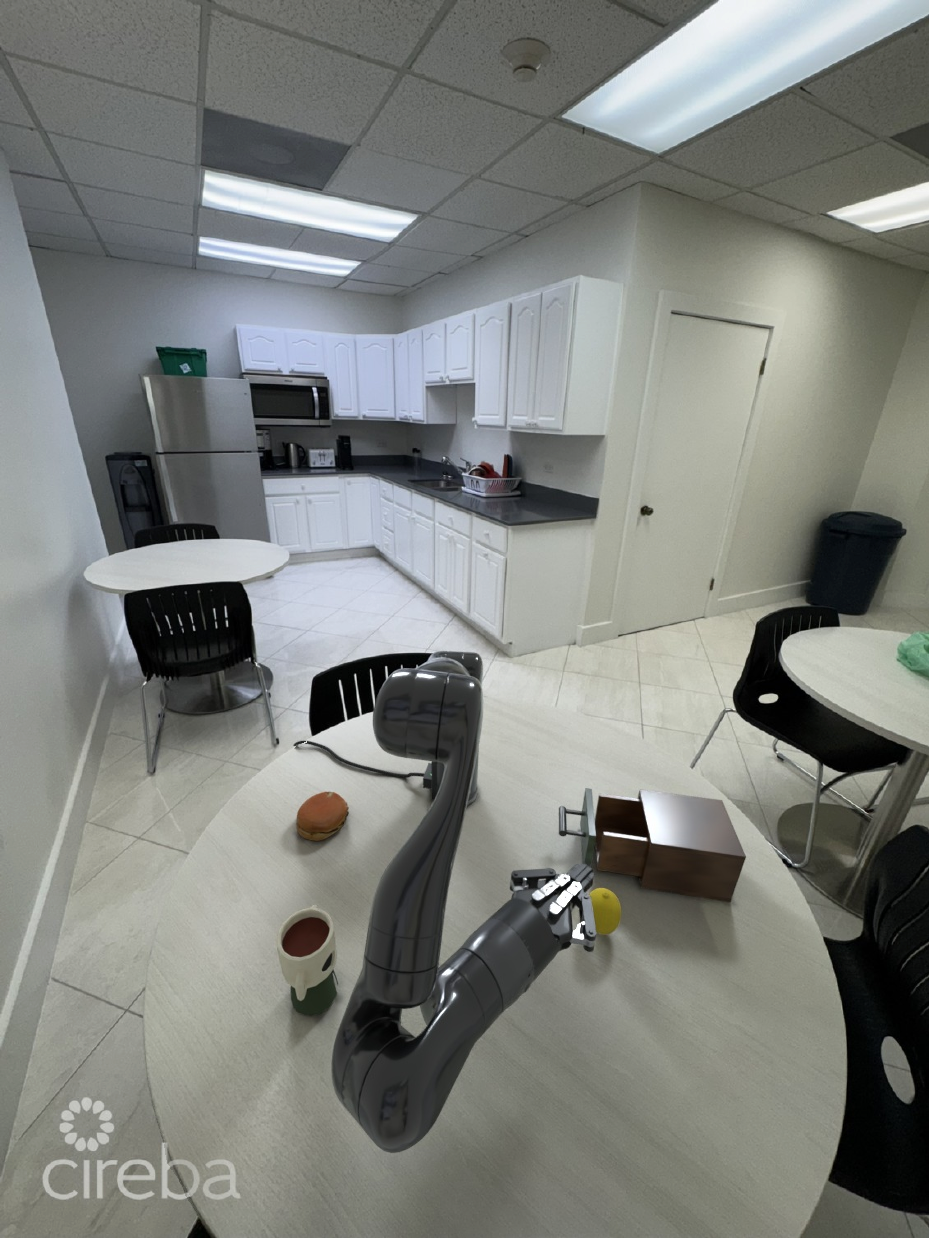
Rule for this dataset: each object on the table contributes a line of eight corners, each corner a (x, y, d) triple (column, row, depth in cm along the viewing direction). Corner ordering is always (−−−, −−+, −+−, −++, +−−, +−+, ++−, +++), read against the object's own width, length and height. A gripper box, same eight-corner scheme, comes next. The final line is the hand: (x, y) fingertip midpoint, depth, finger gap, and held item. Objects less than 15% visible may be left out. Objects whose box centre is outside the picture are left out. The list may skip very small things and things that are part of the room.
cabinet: (640, 887, 85) (651, 842, 81) (630, 831, 96) (639, 789, 92) (730, 902, 83) (746, 856, 78) (709, 842, 94) (722, 799, 90)
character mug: (335, 1037, 64) (326, 974, 59) (279, 1042, 63) (265, 979, 58) (346, 952, 74) (339, 892, 69) (297, 955, 73) (287, 895, 68)
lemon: (613, 913, 80) (620, 879, 77) (620, 947, 75) (628, 912, 72) (579, 910, 81) (585, 875, 78) (583, 943, 76) (590, 908, 73)
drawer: (555, 867, 87) (560, 830, 84) (555, 819, 98) (560, 784, 94) (662, 884, 85) (672, 847, 81) (651, 832, 95) (659, 797, 91)
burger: (293, 844, 92) (291, 825, 90) (301, 807, 100) (299, 789, 98) (348, 839, 93) (346, 820, 91) (351, 803, 101) (349, 785, 100)
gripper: (559, 972, 49) (638, 878, 61) (465, 890, 58) (550, 822, 70) (550, 1024, 51) (628, 923, 63) (461, 938, 60) (544, 864, 72)
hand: (587, 870), depth 66 cm, fingers closed
